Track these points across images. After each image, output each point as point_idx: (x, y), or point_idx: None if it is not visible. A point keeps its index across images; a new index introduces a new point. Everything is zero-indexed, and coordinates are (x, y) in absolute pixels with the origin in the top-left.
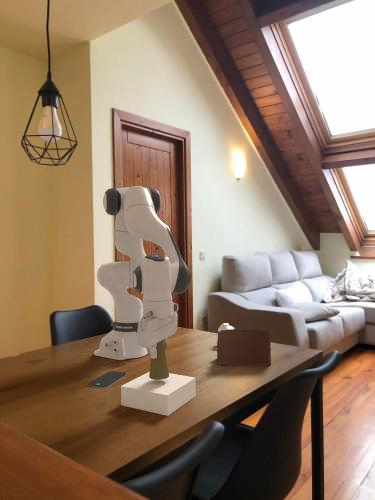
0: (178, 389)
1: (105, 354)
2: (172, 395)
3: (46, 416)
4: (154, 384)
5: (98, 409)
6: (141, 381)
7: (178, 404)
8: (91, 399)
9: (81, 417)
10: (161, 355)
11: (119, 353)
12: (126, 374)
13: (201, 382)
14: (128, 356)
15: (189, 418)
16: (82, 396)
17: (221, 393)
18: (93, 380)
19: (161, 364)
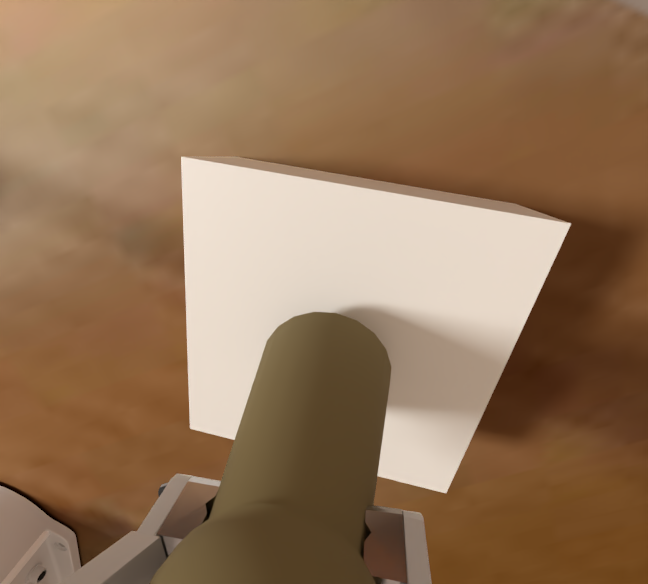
0: (419, 196)
1: (69, 575)
2: (495, 208)
3: (567, 577)
4: None
5: (488, 474)
6: None
7: (413, 188)
8: None
9: (567, 499)
10: (345, 489)
11: (44, 552)
12: (165, 484)
13: (74, 192)
14: (39, 522)
15: (537, 70)
16: None
17: (143, 14)
18: None
19: (362, 412)
